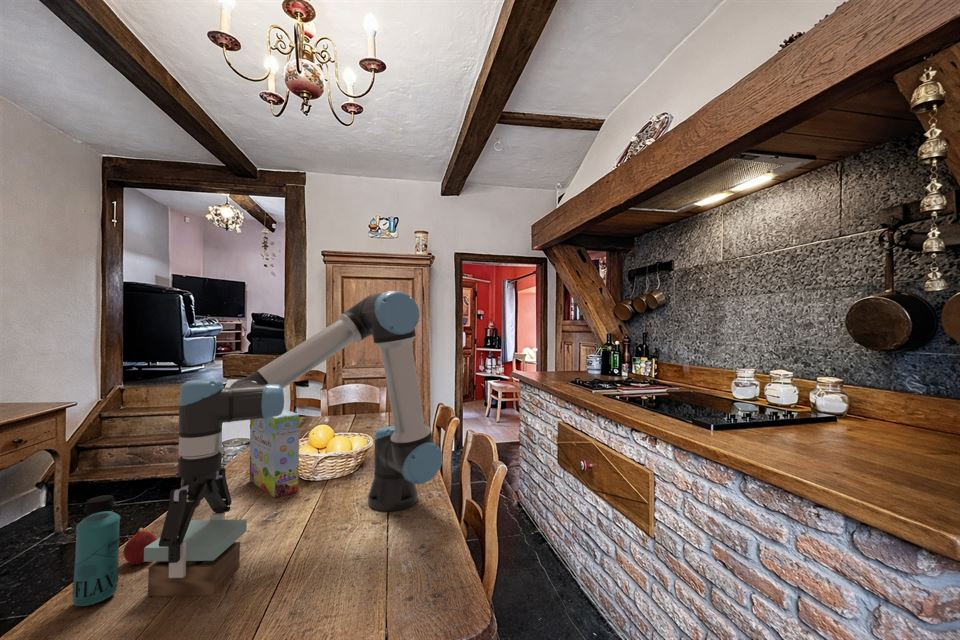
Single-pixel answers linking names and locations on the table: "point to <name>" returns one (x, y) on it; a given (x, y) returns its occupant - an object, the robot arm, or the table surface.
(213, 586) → the box
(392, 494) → the robot arm
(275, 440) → the snack box
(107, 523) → the beverage bottle
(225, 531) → the lid
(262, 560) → the table surface
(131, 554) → the onion
